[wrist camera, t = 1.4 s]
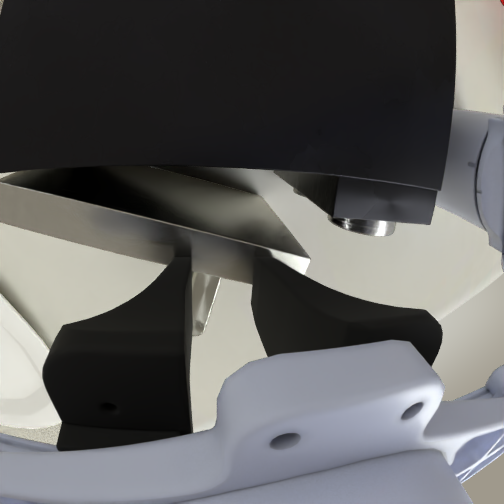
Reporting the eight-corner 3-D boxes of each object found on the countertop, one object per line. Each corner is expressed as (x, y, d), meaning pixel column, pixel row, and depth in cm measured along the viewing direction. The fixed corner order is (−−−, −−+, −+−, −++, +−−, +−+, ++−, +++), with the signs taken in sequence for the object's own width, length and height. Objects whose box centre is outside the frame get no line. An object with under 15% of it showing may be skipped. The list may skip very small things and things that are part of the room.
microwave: (340, 189, 22) (429, 243, 13) (75, 181, 18) (-5, 235, 9) (358, -11, 16) (447, -58, 7) (97, -33, 12) (45, -105, 3)
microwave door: (232, 284, 23) (254, 383, 14) (62, 244, 20) (-2, 324, 11) (262, 196, 21) (311, 258, 12) (76, 149, 17) (-6, 180, 9)
